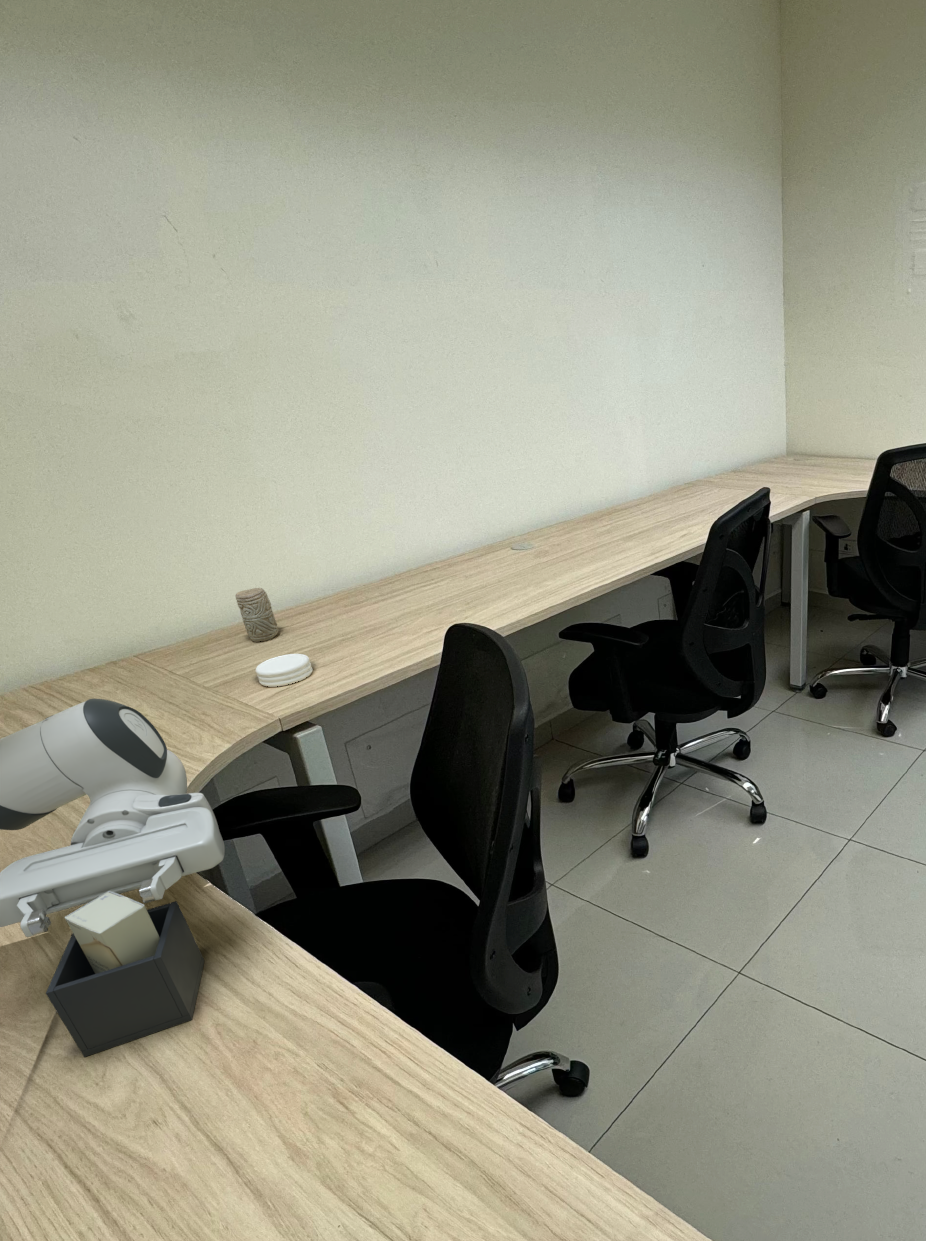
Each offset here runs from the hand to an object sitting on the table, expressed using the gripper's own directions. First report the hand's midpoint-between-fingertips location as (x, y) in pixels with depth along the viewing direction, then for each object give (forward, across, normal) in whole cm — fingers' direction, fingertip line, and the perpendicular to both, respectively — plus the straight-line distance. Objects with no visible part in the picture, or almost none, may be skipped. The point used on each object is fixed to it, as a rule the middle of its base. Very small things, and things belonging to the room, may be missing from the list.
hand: (92, 912), depth 74 cm
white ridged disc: (-92, +9, +14) cm, 93 cm away
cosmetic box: (-1, +1, +13) cm, 13 cm away
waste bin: (-1, 0, +14) cm, 14 cm away
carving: (-122, +3, +14) cm, 123 cm away
